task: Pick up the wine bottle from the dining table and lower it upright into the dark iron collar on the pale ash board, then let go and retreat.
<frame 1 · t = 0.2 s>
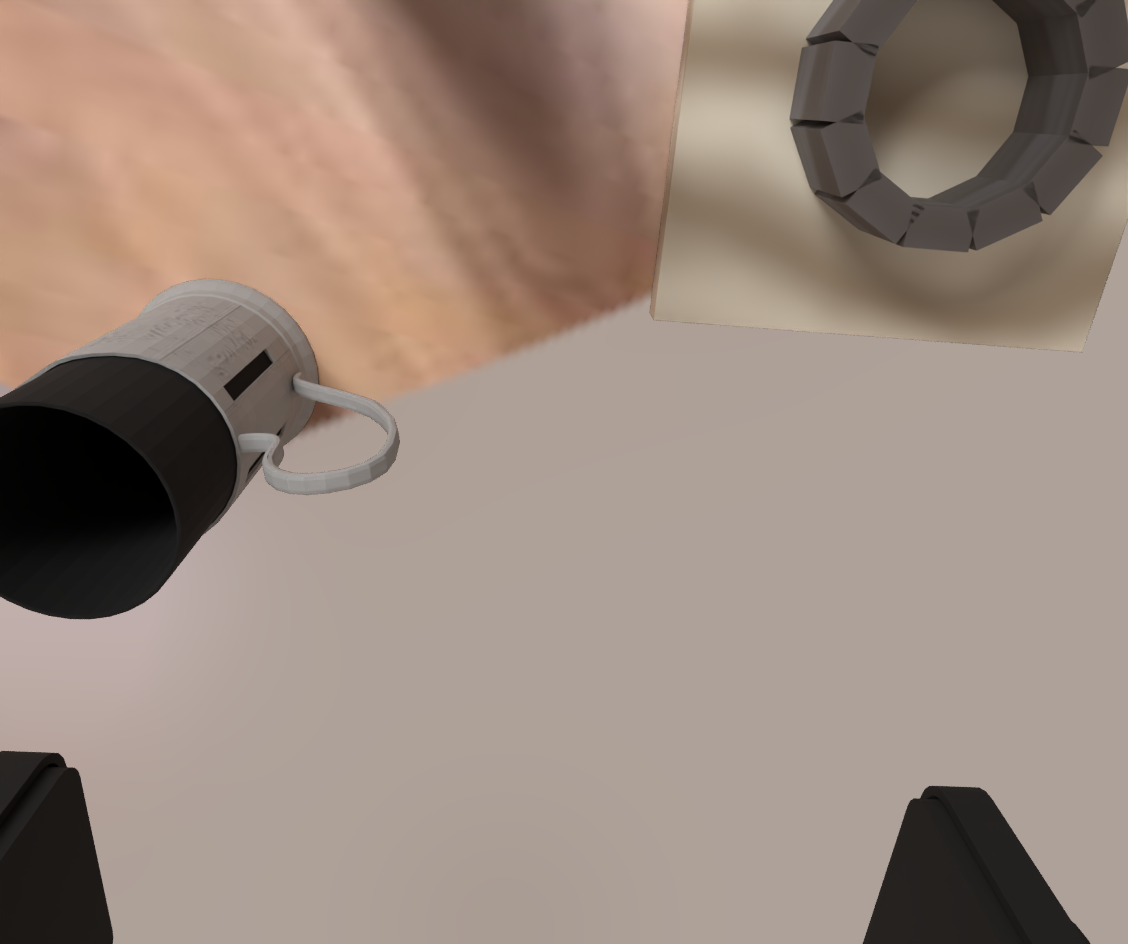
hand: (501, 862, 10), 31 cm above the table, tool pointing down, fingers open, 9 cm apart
bottle stand: (912, 96, 35), on the table
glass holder: (283, 367, 39), on the table
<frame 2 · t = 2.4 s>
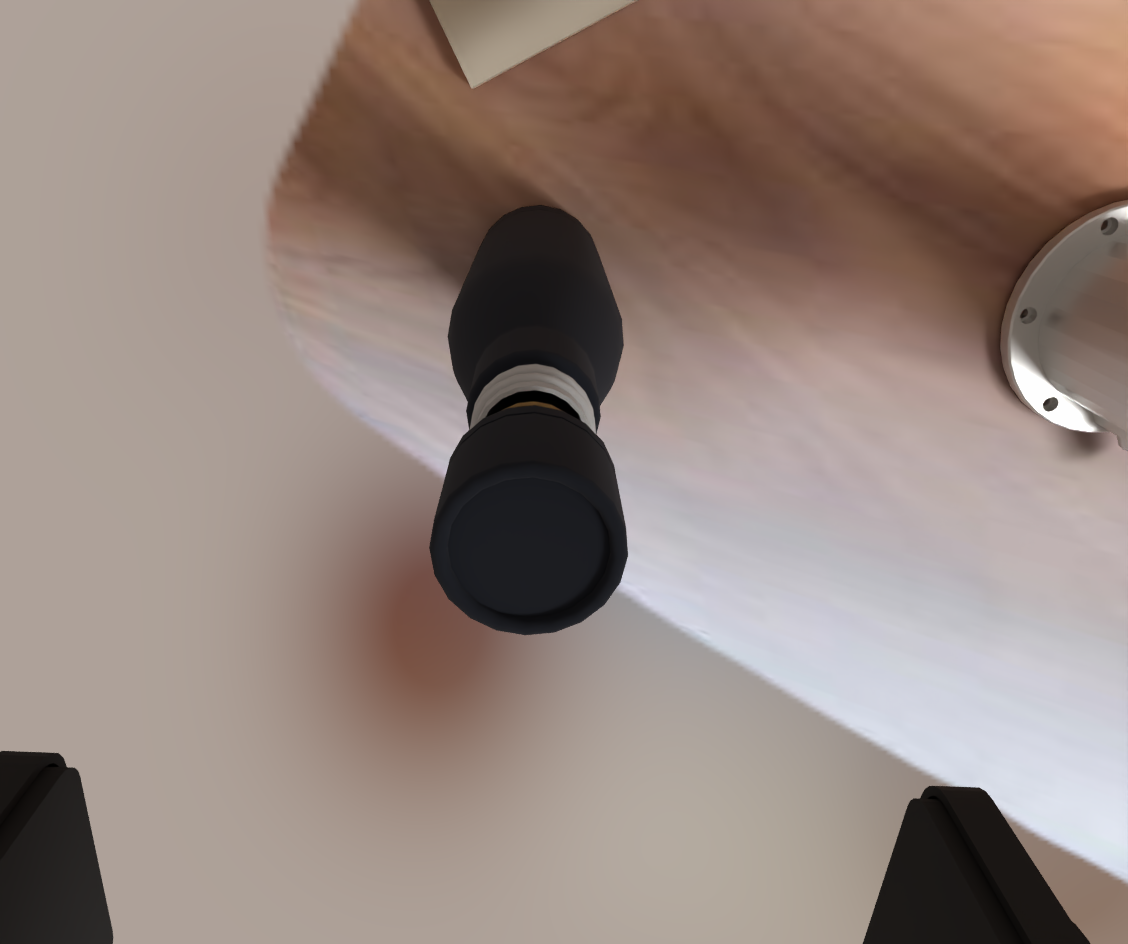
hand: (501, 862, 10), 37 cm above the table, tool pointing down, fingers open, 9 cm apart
wine bottle: (538, 268, 44), on the table
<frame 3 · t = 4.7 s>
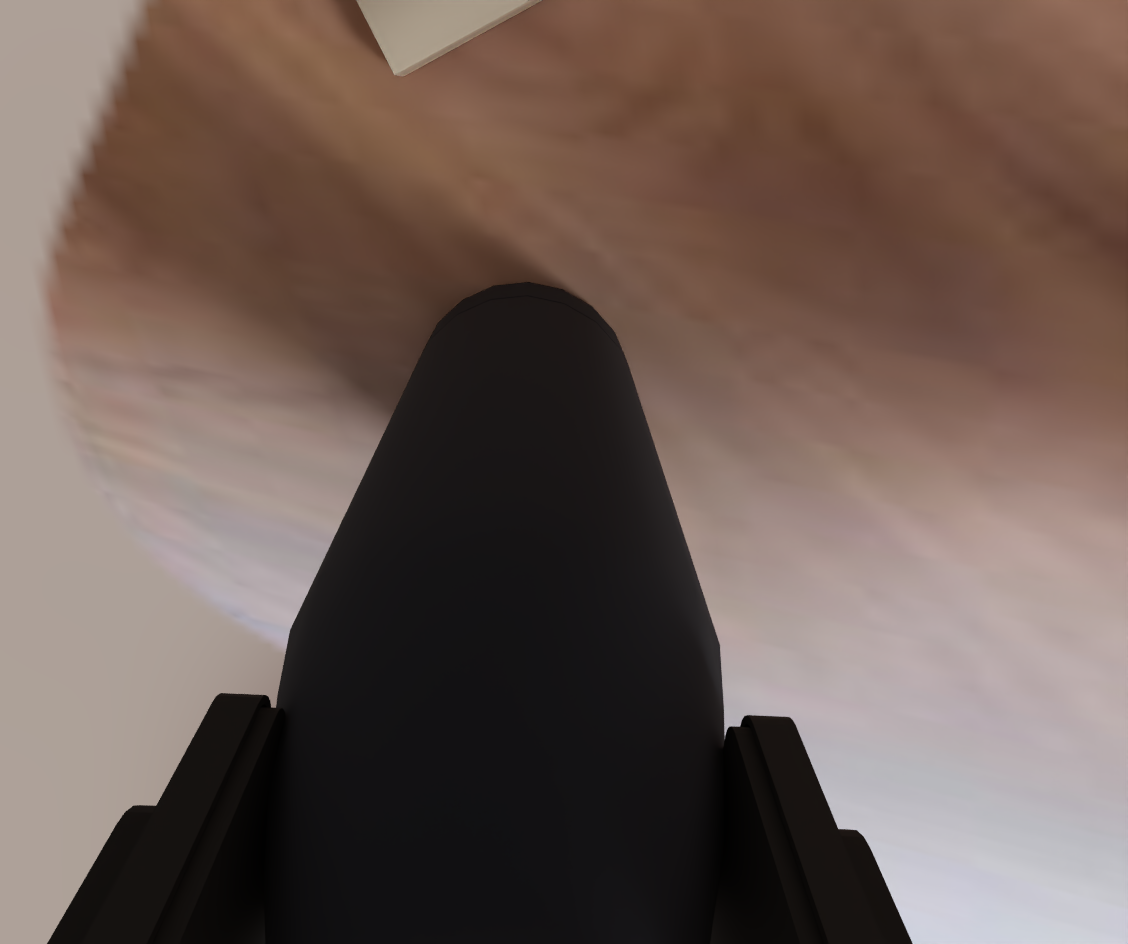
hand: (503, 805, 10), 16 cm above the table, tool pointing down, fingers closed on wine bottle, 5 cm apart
wine bottle: (524, 385, 25), on the table, touching gripper
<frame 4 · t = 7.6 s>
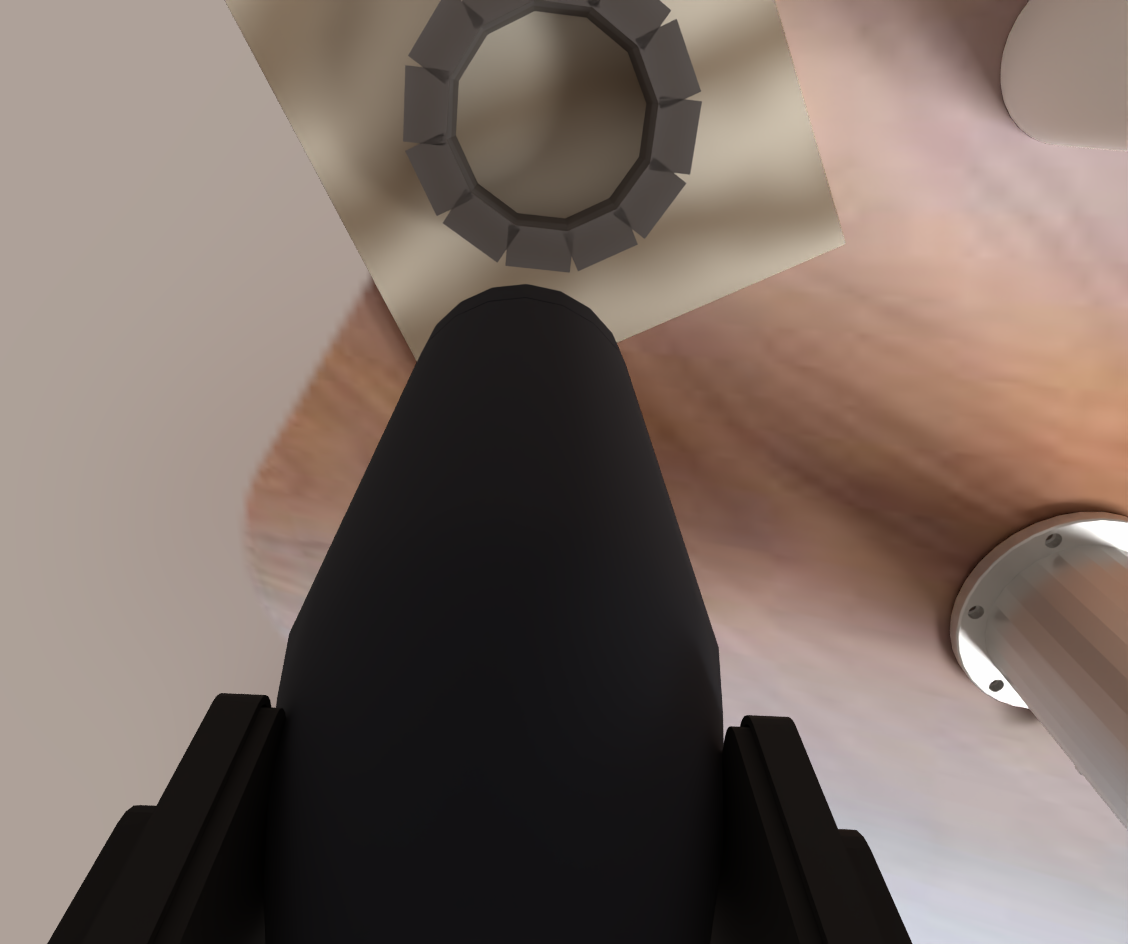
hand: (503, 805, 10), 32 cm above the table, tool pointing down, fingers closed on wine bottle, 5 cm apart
bottle stand: (550, 118, 36), on the table
wine bottle: (522, 386, 26), point 15 cm above the table, touching gripper
cylindrical container: (1081, 57, 36), on the table
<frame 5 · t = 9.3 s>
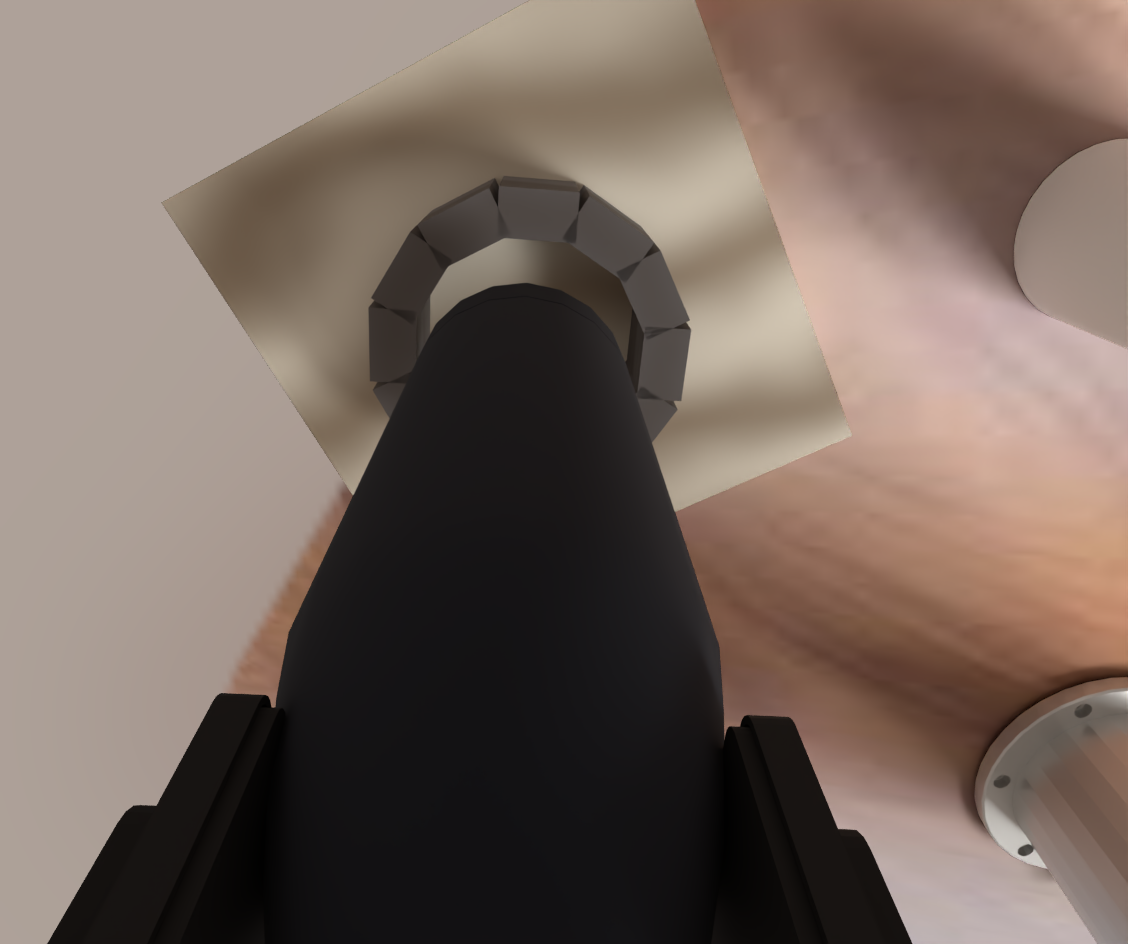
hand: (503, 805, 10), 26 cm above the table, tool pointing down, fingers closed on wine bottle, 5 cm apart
bottle stand: (530, 318, 34), on the table
wine bottle: (522, 385, 25), point 9 cm above the table, touching gripper
cylindrical container: (1101, 234, 33), on the table
when the fingers open (19 cm above the table, at t = 10.8 s): wine bottle drops 1 cm, resting on bottle stand.
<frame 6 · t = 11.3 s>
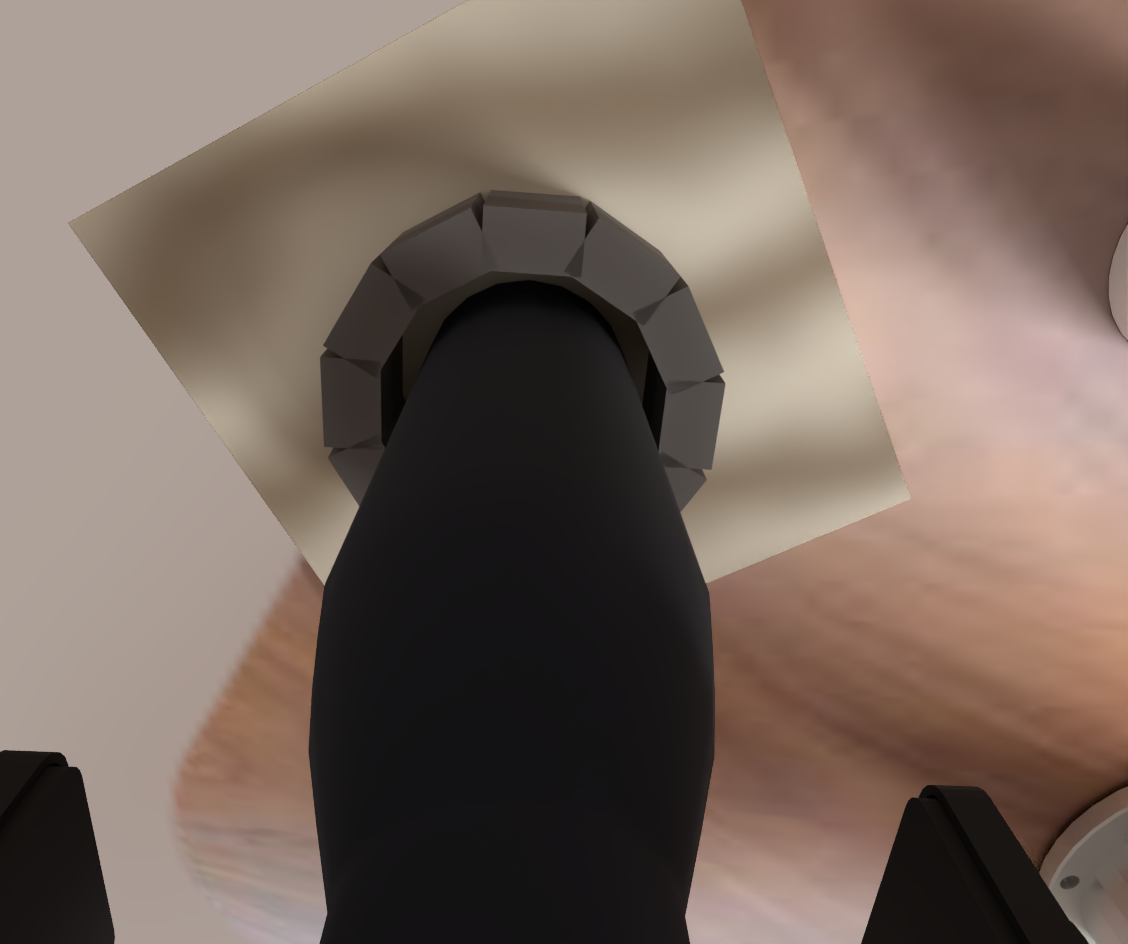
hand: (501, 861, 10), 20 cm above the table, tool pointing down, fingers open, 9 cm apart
bottle stand: (525, 359, 28), on the table
wine bottle: (526, 377, 27), point 1 cm above the table, touching bottle stand
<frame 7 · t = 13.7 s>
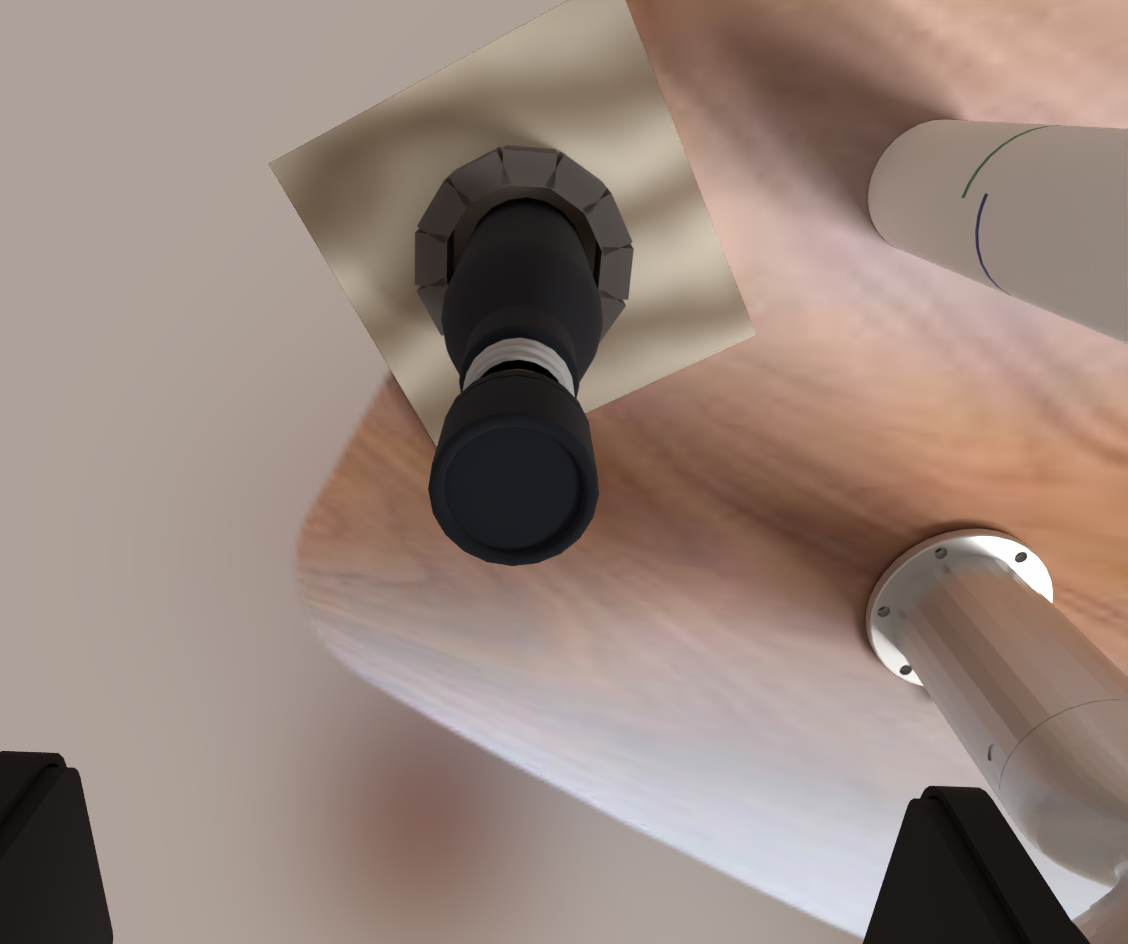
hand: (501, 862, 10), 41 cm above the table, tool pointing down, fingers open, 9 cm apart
bottle stand: (524, 249, 47), on the table
wine bottle: (525, 257, 46), point 1 cm above the table, touching bottle stand
cylindrical container: (929, 188, 47), on the table
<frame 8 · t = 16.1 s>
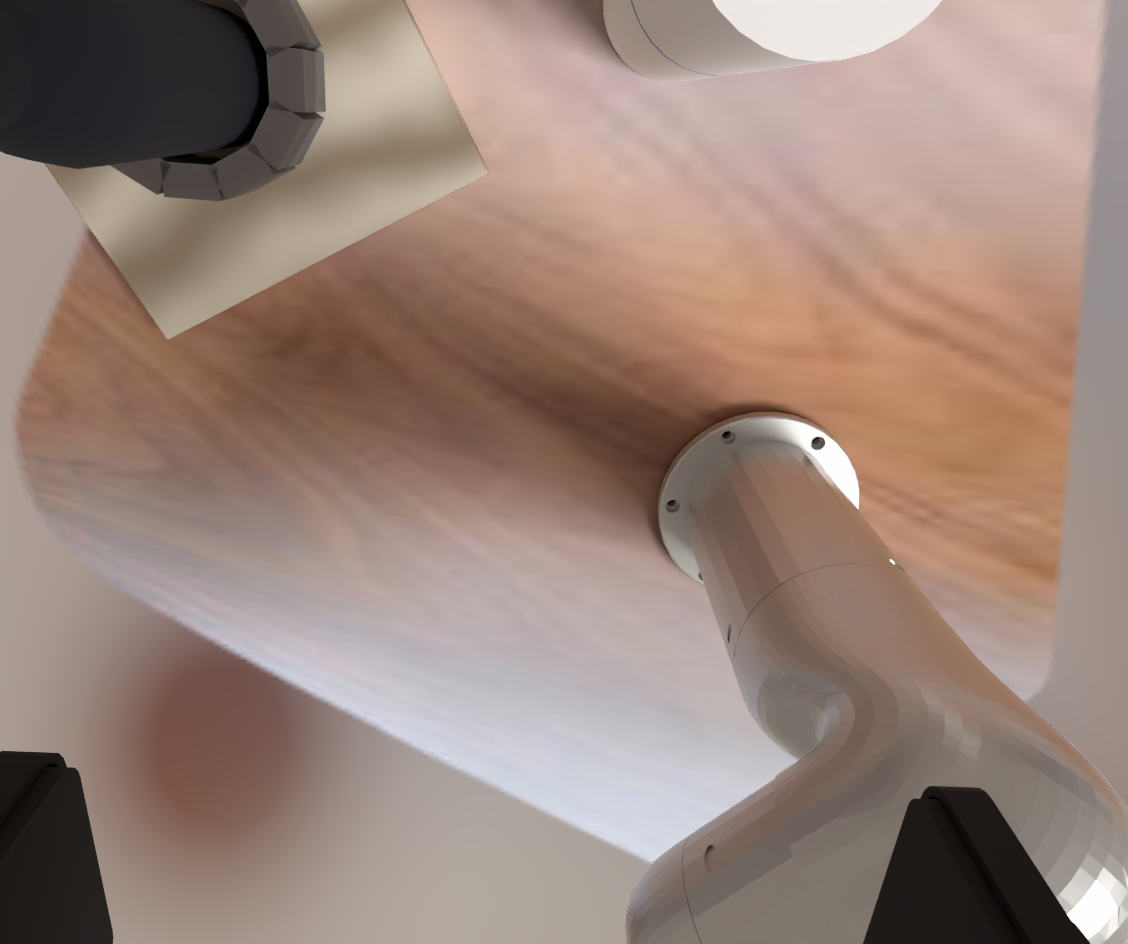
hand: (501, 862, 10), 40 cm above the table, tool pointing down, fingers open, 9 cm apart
bottle stand: (221, 74, 42), on the table
wine bottle: (214, 78, 41), point 1 cm above the table, touching bottle stand
cylindrical container: (673, 3, 42), on the table
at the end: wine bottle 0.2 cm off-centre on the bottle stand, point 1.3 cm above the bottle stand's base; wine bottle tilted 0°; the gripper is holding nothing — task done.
